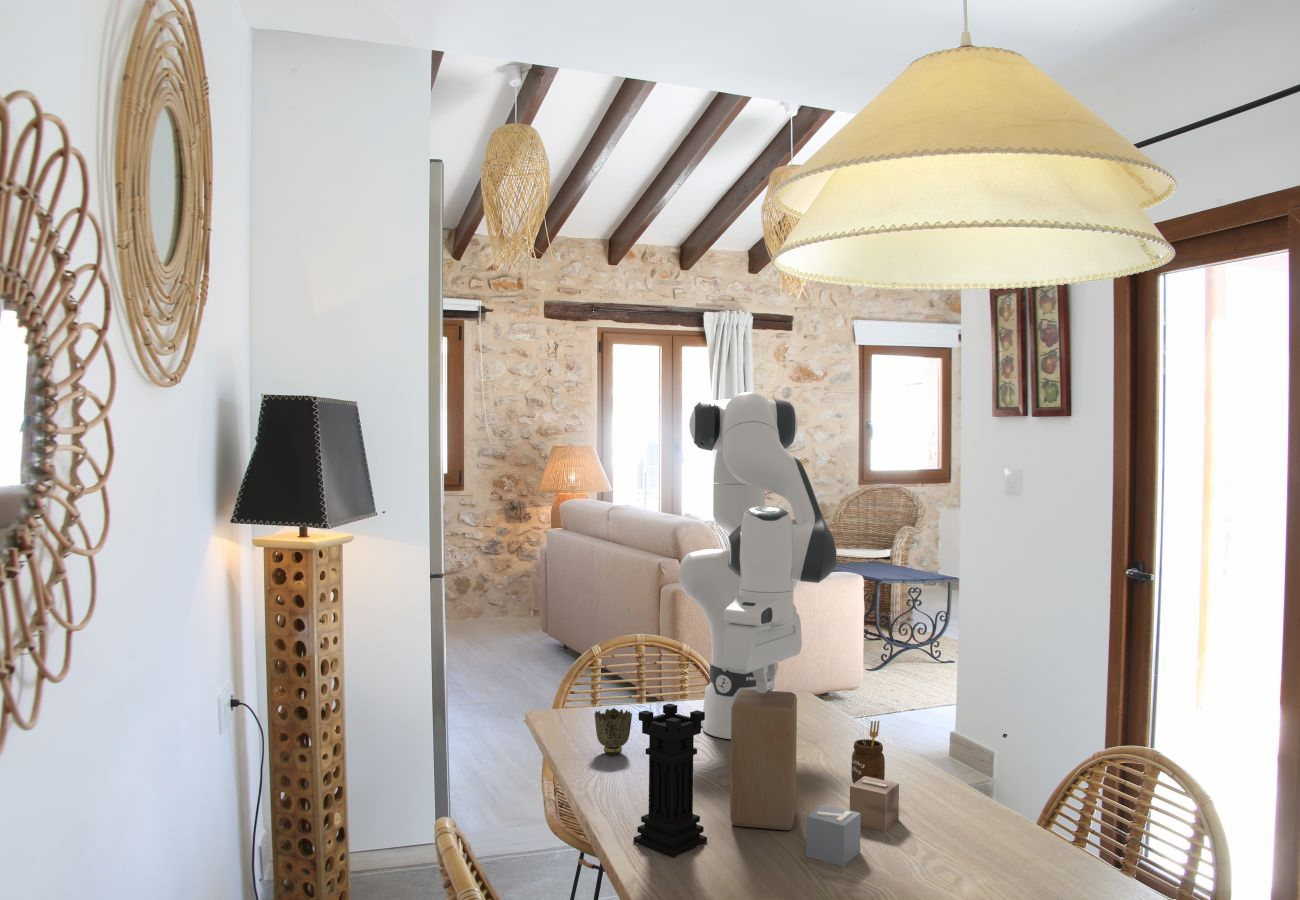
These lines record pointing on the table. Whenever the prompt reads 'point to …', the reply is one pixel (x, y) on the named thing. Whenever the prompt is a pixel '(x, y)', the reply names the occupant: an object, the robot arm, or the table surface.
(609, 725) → the cup
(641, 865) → the table surface
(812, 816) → the slate numbered cube
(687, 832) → the chess piece
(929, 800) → the table surface
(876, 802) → the walnut numbered cube
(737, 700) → the block
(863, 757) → the utensil holder
